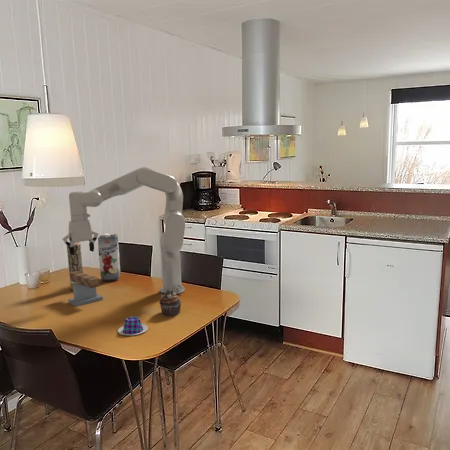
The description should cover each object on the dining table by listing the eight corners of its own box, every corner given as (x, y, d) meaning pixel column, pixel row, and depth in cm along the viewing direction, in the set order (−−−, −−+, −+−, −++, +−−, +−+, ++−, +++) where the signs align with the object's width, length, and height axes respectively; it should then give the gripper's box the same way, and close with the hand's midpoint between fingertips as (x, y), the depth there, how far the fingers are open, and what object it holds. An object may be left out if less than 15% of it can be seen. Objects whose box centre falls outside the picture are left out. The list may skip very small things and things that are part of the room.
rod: (99, 286, 206) (98, 278, 205) (91, 288, 203) (91, 280, 202) (77, 278, 219) (76, 271, 218) (70, 280, 216) (69, 272, 215)
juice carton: (102, 277, 252) (99, 232, 247) (121, 276, 253) (118, 231, 248) (100, 282, 243) (96, 235, 238) (119, 281, 244) (115, 234, 239)
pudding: (151, 325, 181) (151, 313, 180) (142, 337, 169) (141, 325, 168) (124, 324, 183) (123, 312, 182) (113, 336, 171) (112, 324, 170)
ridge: (102, 299, 214) (101, 282, 212) (75, 306, 205) (73, 288, 203) (95, 295, 220) (94, 278, 218) (68, 302, 211) (67, 284, 209)
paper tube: (80, 291, 228) (75, 244, 224) (68, 290, 229) (64, 244, 225) (86, 287, 235) (82, 242, 230) (75, 286, 236) (71, 241, 232)
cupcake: (175, 317, 188) (174, 295, 186) (156, 315, 191) (155, 293, 190) (185, 310, 197) (184, 289, 195) (166, 307, 200) (165, 287, 198)
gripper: (93, 214, 214) (95, 248, 217) (58, 219, 203) (61, 254, 206) (99, 216, 208) (102, 250, 211) (64, 220, 197) (67, 257, 200)
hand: (82, 252), depth 208 cm, fingers open, 9 cm apart
